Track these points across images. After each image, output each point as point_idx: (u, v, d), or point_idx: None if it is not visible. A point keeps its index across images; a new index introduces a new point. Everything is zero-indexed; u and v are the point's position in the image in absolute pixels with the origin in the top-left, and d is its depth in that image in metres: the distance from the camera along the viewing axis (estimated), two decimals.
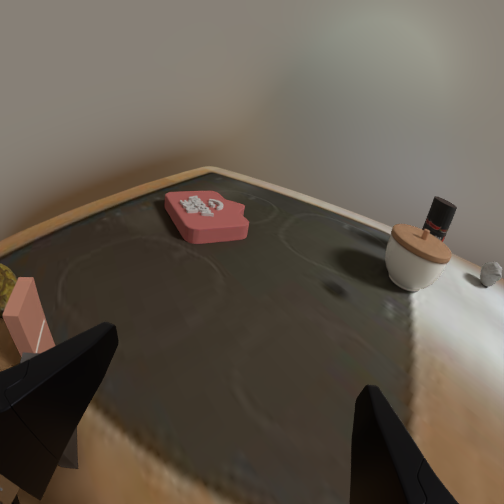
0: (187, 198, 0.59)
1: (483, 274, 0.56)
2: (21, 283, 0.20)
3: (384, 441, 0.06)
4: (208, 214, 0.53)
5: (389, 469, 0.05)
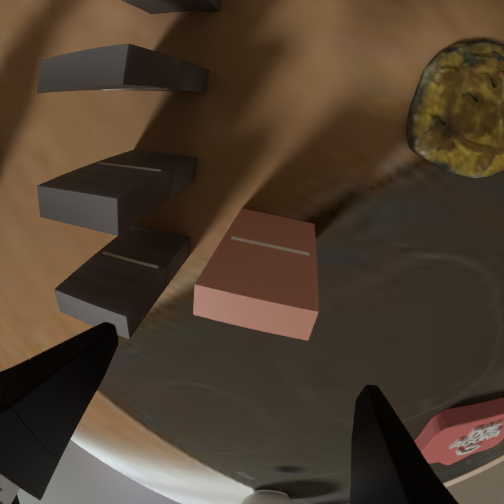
0: (502, 426, 0.24)
1: None
2: (291, 319, 0.12)
3: (384, 441, 0.06)
4: (453, 444, 0.26)
5: (389, 469, 0.05)
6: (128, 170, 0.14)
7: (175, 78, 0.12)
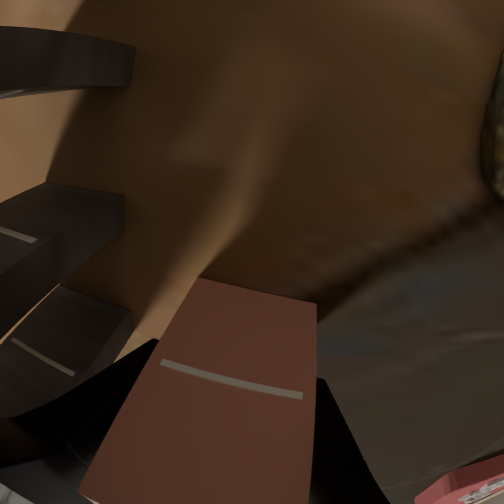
0: None
1: None
2: None
3: (319, 437, 0.06)
4: (463, 498, 0.18)
5: (321, 467, 0.06)
6: None
7: (33, 66, 0.04)
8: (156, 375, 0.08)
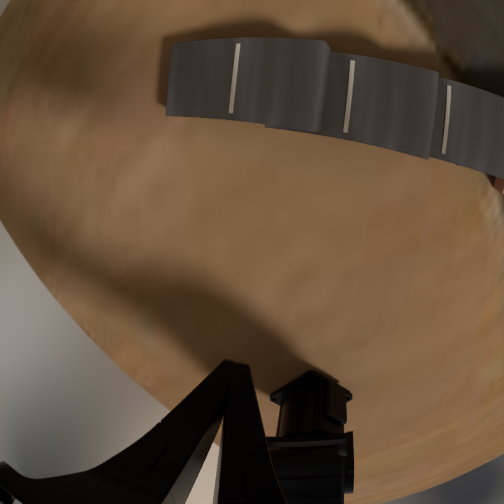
0: None
1: None
2: None
3: (225, 420, 0.07)
4: None
5: (221, 451, 0.06)
6: (459, 113, 0.12)
7: None
8: None
